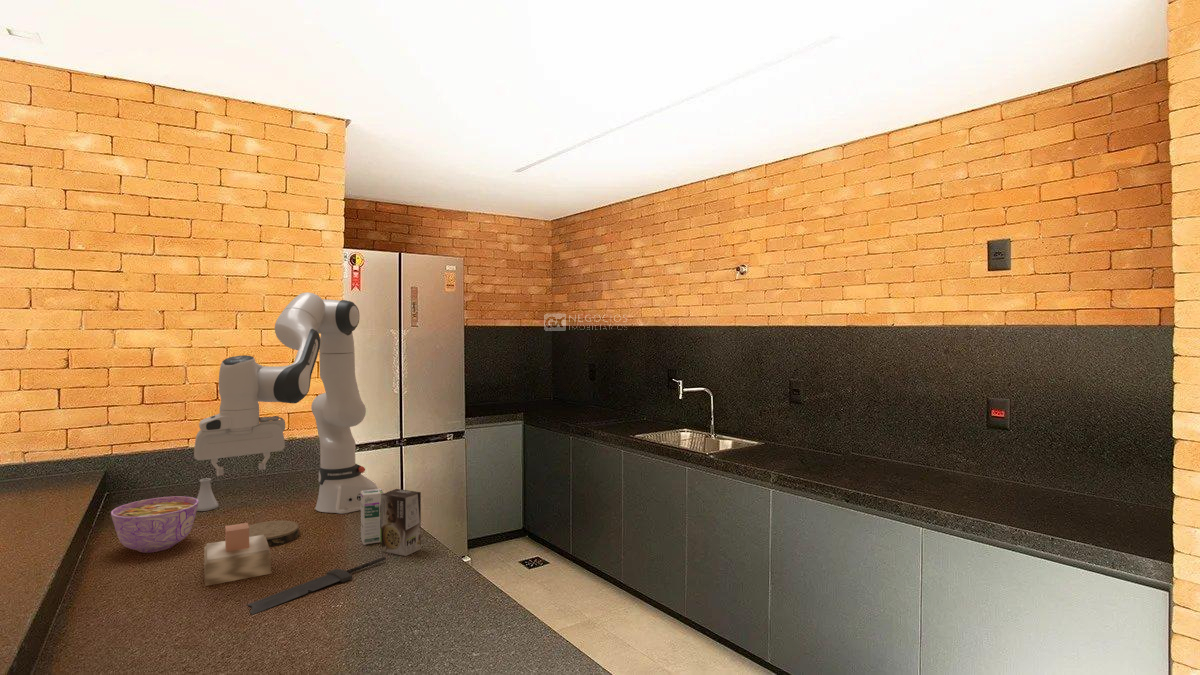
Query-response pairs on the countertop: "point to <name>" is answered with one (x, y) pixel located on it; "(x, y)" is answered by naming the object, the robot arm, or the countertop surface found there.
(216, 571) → the cream square block
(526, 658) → the countertop surface
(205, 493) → the flask
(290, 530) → the brown flat disc
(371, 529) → the syrup box
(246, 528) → the terracotta cube
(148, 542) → the bowl of food
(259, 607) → the flat dark sword
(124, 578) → the countertop surface
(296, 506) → the countertop surface
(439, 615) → the countertop surface
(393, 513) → the brown printed carton
